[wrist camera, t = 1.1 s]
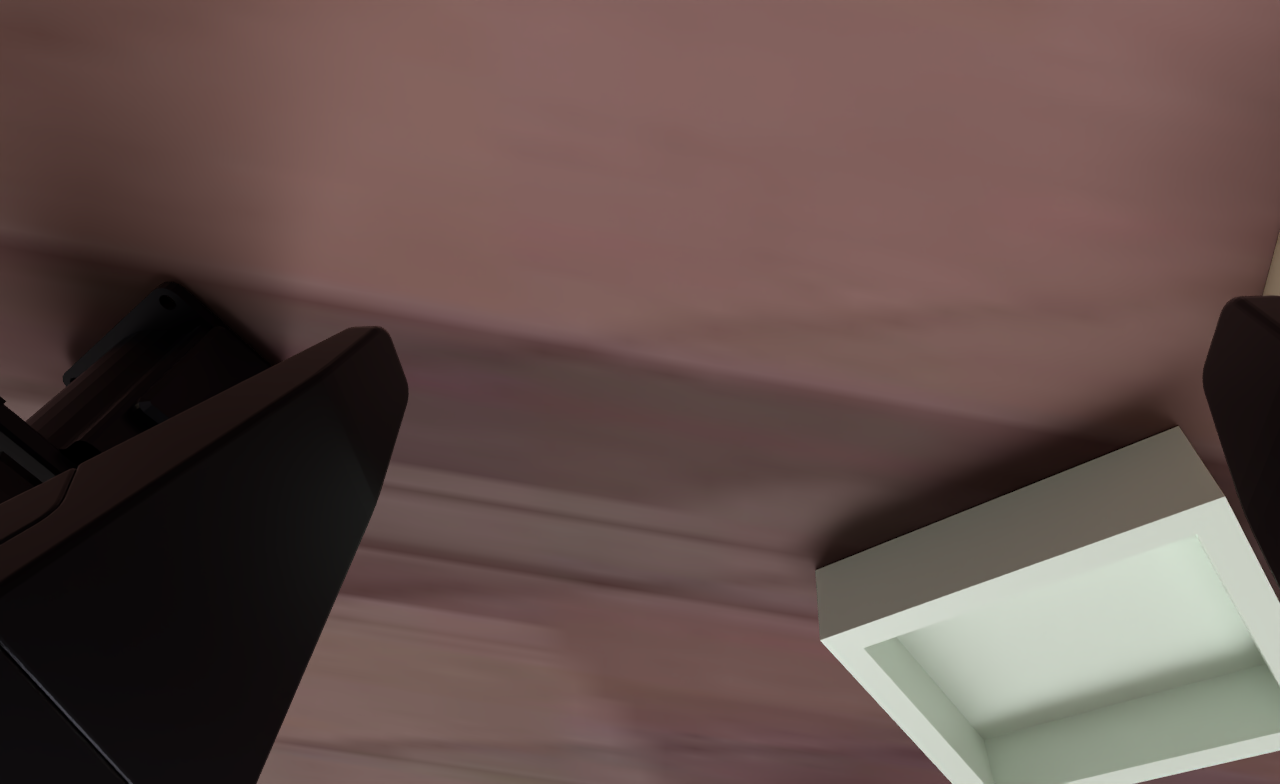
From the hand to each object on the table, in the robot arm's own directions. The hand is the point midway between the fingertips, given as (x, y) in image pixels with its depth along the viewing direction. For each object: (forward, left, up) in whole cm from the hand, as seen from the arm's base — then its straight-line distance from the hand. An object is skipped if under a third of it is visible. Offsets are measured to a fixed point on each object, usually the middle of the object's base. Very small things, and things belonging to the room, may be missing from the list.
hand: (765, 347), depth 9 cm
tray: (-2, -22, -13) cm, 25 cm away
